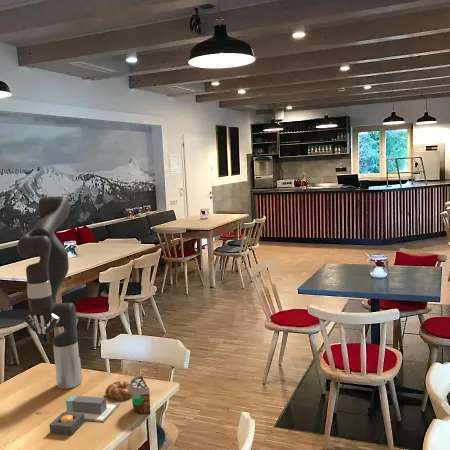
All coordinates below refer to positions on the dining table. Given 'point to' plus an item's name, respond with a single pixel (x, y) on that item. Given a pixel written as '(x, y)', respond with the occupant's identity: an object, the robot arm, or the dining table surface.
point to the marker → (86, 404)
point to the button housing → (67, 424)
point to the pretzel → (118, 391)
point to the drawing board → (99, 417)
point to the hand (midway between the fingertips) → (45, 343)
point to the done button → (66, 419)
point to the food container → (140, 395)
